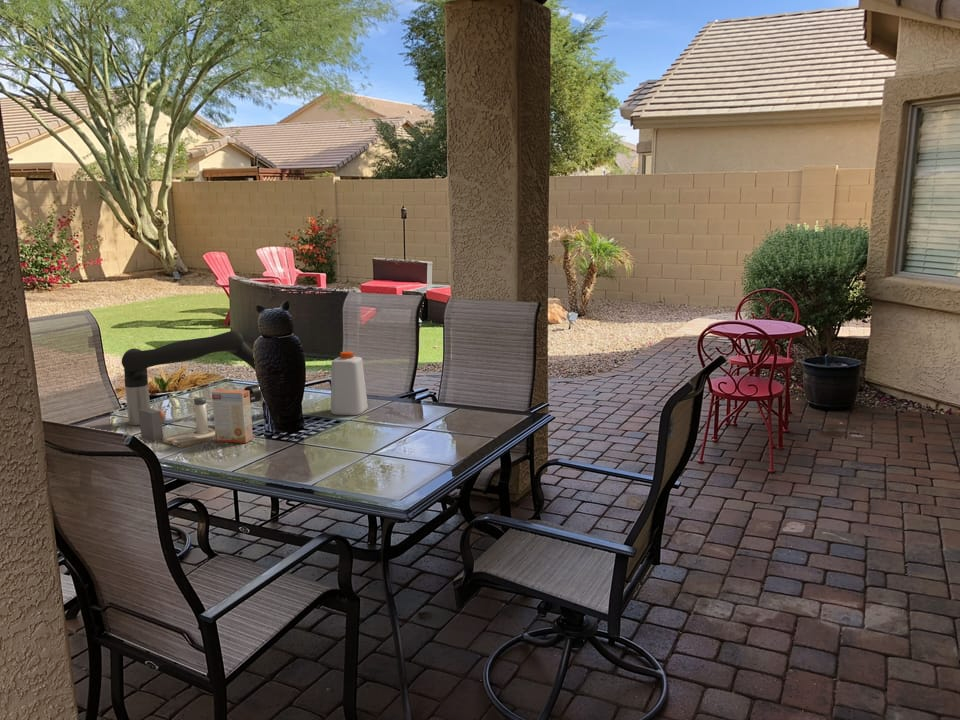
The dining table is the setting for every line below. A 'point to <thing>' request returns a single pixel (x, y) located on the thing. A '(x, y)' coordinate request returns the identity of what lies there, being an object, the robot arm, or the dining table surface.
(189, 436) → the beige board with ring
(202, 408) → the white shaker grey cap
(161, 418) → the button
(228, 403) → the cracker box
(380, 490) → the dining table surface
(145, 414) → the button panel
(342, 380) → the plastic bottle
